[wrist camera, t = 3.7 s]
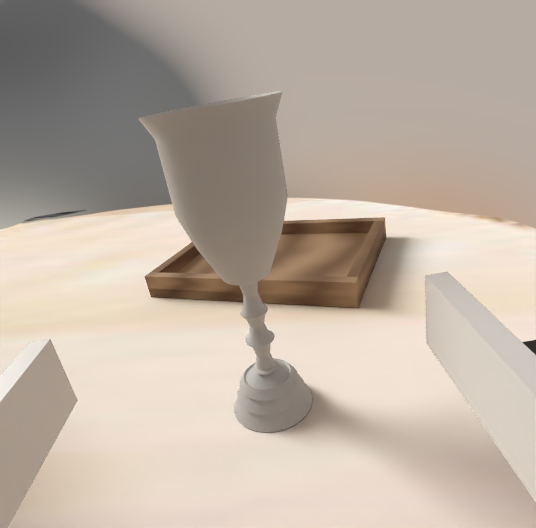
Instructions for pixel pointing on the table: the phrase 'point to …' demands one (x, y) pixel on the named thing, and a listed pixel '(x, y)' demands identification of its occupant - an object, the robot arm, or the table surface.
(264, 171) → the chalice
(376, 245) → the tray
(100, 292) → the table surface
